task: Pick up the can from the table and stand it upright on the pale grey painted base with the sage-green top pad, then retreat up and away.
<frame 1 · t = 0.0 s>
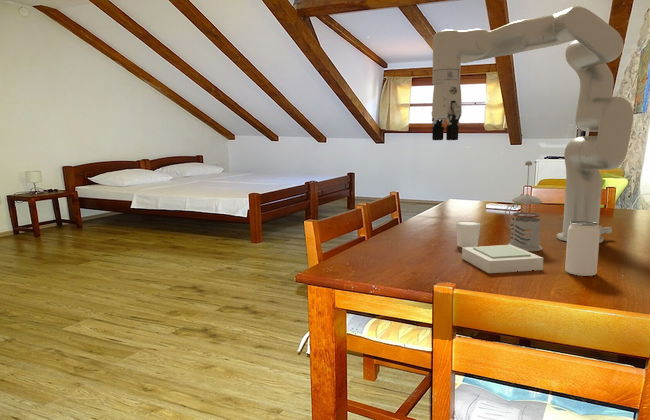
hand: (444, 140, 129), 31 cm above the table, tool pointing down, fingers open, 9 cm apart
french press: (521, 247, 133), on the table
can: (580, 273, 107), on the table
white cup: (467, 246, 135), on the table
base: (500, 263, 115), on the table
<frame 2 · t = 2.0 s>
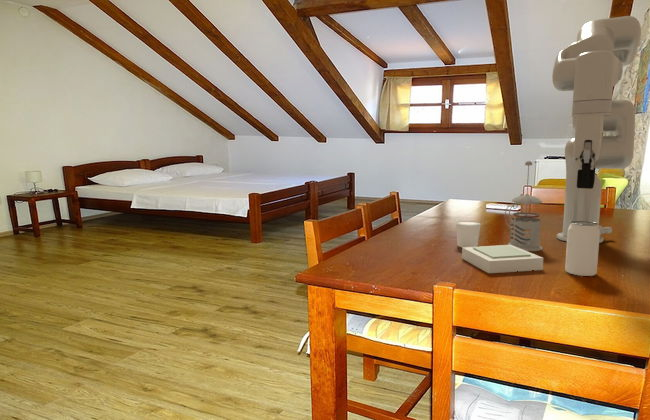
hand: (585, 186, 103), 20 cm above the table, tool pointing down, fingers open, 9 cm apart
nothing on the table moved.
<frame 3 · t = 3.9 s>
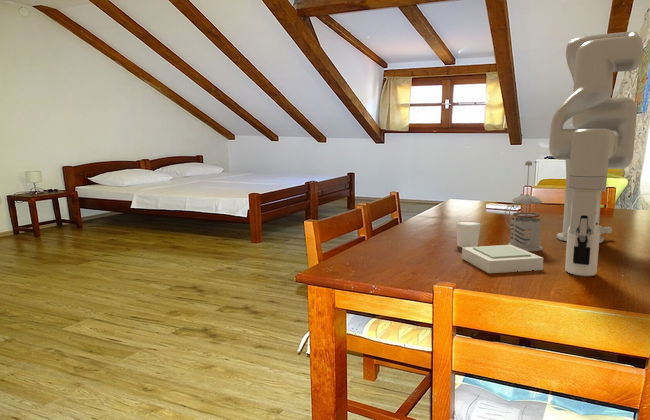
hand: (581, 259, 106), 3 cm above the table, tool pointing down, fingers closed on can, 6 cm apart
can: (580, 273, 107), on the table, touching gripper
everything else where it was.
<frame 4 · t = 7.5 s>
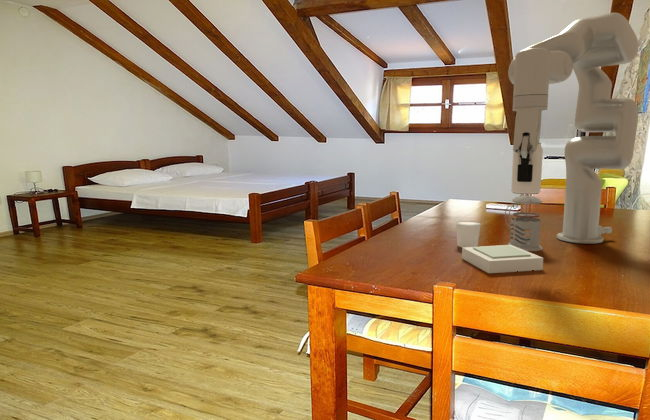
hand: (526, 179, 109), 22 cm above the table, tool pointing down, fingers closed on can, 6 cm apart
can: (525, 193, 110), point 18 cm above the table, touching gripper
everything else where it was.
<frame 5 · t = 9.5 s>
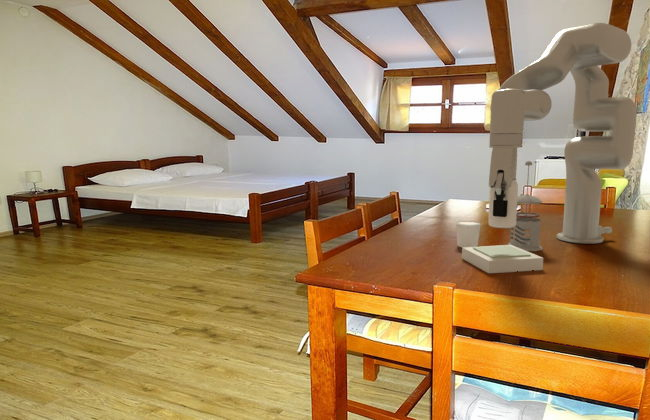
hand: (502, 213, 113), 13 cm above the table, tool pointing down, fingers closed on can, 6 cm apart
can: (501, 227, 114), point 9 cm above the table, touching gripper
everything else where it was.
when the fingers open (8 cm above the table, at t = 10.9 s): can drops 1 cm, resting on base.
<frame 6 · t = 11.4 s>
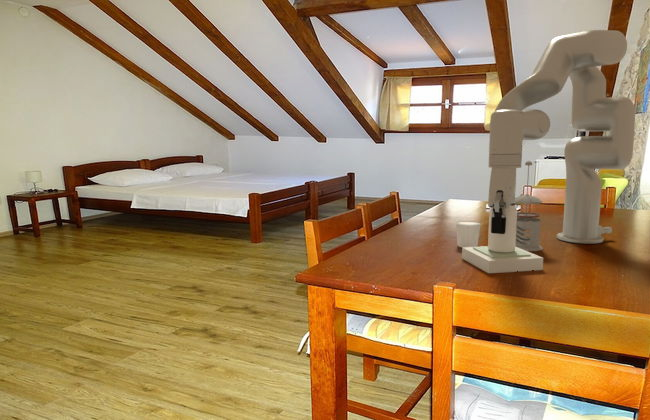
hand: (501, 229, 114), 9 cm above the table, tool pointing down, fingers open, 9 cm apart
can: (501, 251, 115), point 3 cm above the table, touching base
everything else where it was.
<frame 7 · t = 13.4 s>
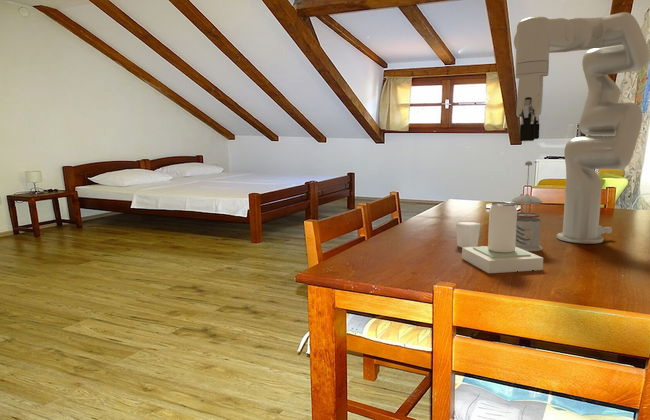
hand: (529, 139, 116), 31 cm above the table, tool pointing down, fingers open, 9 cm apart
nothing on the table moved.
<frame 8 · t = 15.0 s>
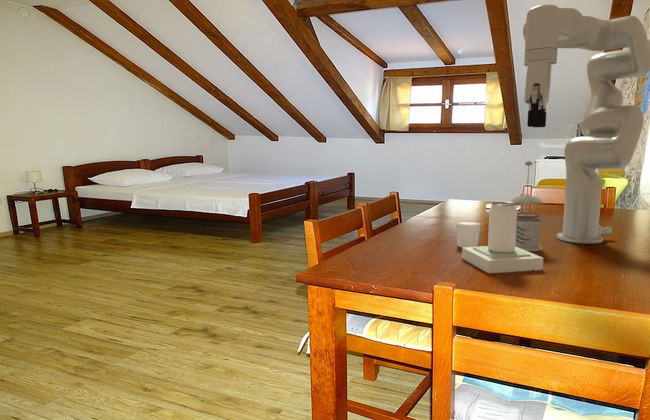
hand: (536, 126, 118), 34 cm above the table, tool pointing down, fingers open, 9 cm apart
nothing on the table moved.
at the end: can inside the target area on the base (0.4 cm from its centre), point 3.2 cm above the base's base; can tilted 0°; the gripper is holding nothing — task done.
